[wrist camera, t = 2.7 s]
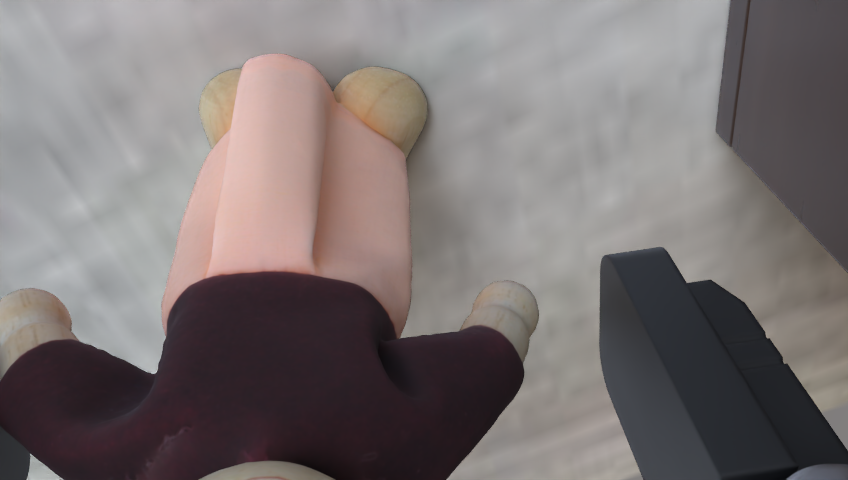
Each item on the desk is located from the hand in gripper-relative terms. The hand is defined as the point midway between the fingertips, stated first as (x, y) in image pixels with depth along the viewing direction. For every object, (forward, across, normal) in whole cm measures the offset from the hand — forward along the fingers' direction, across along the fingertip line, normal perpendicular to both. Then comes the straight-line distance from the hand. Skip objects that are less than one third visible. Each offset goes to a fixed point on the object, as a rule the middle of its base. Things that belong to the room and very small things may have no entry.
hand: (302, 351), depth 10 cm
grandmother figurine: (+7, 0, 0) cm, 7 cm away
